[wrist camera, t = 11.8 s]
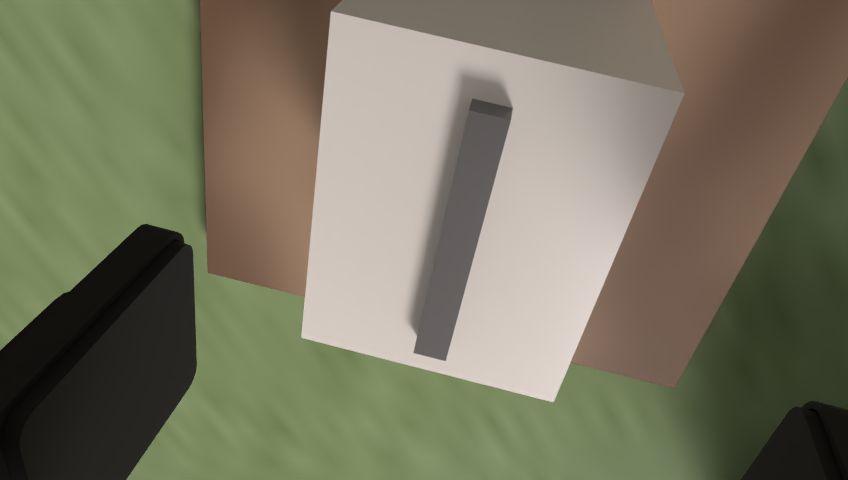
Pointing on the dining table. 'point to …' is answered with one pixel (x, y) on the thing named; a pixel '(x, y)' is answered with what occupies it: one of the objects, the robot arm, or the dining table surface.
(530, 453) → the dining table surface
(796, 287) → the dining table surface
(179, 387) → the robot arm
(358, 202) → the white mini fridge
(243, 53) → the brown rectangular plate
